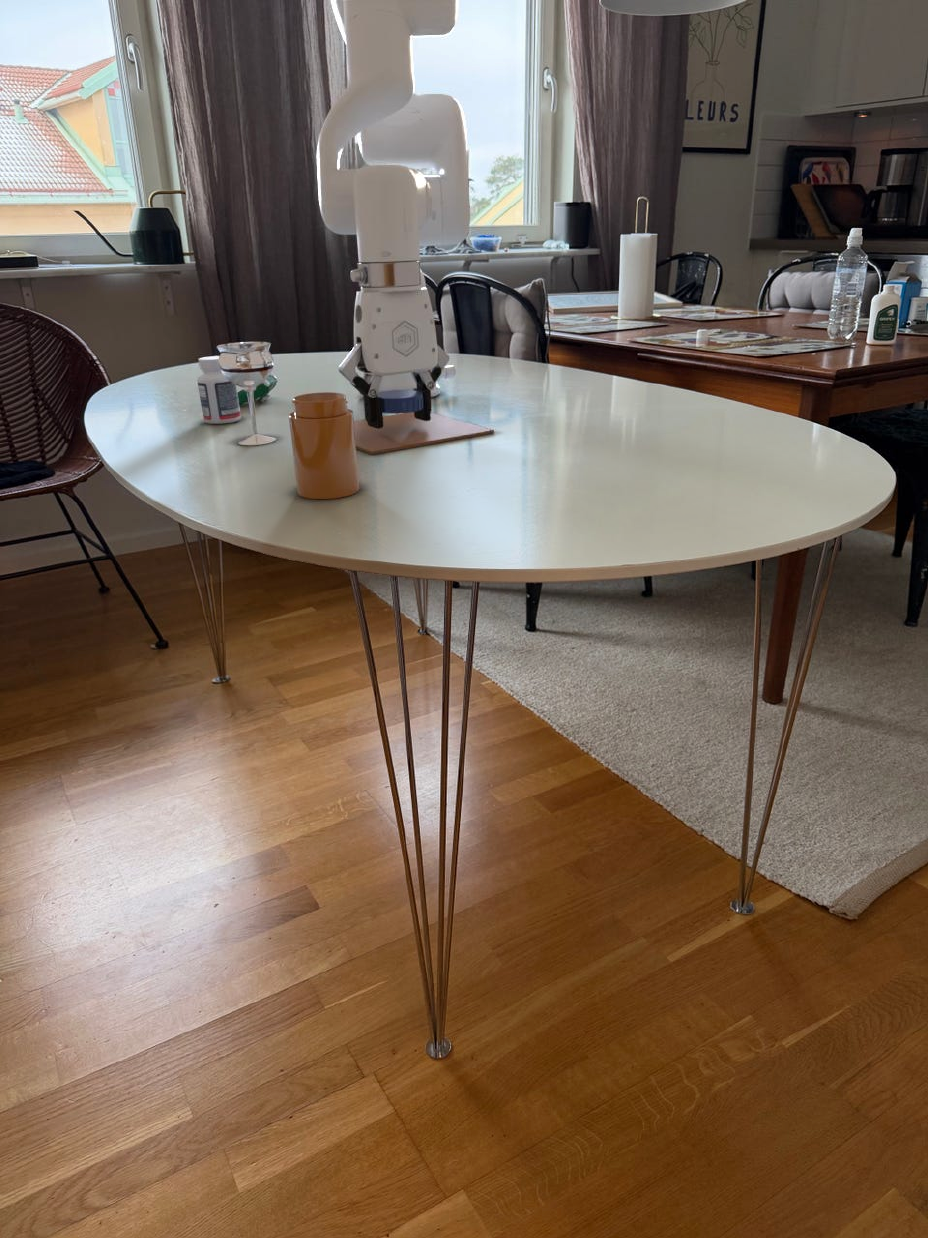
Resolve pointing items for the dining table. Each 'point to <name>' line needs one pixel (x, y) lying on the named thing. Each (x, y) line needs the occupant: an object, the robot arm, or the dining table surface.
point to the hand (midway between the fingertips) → (399, 421)
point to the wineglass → (247, 375)
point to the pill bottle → (217, 393)
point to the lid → (401, 401)
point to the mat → (412, 432)
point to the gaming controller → (259, 391)
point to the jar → (324, 446)
